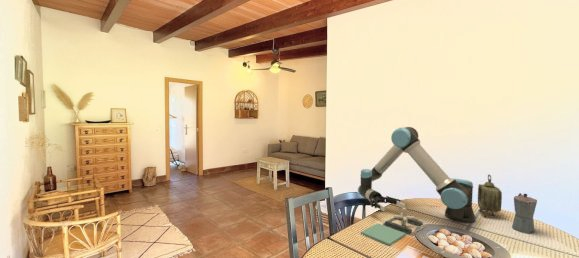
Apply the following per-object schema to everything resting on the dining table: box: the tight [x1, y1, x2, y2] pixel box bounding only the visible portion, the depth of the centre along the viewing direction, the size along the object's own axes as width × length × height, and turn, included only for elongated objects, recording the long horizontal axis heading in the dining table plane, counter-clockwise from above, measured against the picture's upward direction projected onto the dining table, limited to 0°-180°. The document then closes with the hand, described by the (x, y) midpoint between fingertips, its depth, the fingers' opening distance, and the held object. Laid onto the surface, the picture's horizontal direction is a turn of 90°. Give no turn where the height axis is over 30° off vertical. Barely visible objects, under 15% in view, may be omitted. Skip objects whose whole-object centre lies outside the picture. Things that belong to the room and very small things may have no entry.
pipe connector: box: [393, 207, 415, 227], centre depth 143 cm, size 10×10×10 cm
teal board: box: [360, 223, 407, 247], centre depth 134 cm, size 16×16×1 cm
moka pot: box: [511, 193, 538, 235], centre depth 138 cm, size 10×15×20 cm, turn 160°
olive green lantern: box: [477, 174, 503, 218], centre depth 157 cm, size 14×9×25 cm, turn 153°
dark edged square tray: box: [382, 217, 424, 237], centre depth 144 cm, size 18×17×2 cm
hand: (394, 207), depth 151 cm, fingers open, 13 cm apart
